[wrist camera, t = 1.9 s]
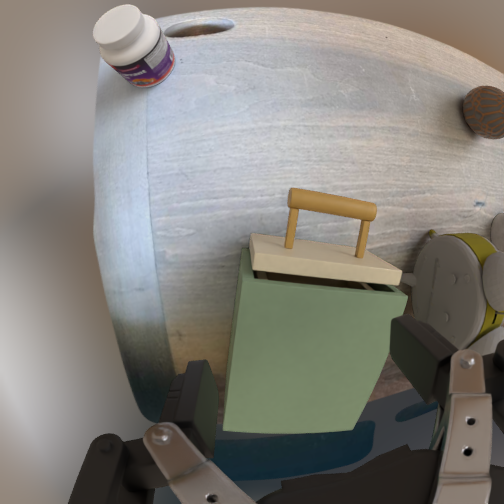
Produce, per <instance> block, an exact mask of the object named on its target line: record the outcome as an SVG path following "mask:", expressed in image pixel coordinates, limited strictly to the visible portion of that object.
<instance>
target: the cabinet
mask: <svg viewBox="0 0 504 504" xmlns="http://www.w3.org/2000/svg"><path fill="white" fill-rule="evenodd" d="M365 283H366V284H367V285H368V286H370V287H371V288H372V289H373V290H374V291H372V290H361V289H350V288H339V287H329V286H319V285H309V284H300V283H290V282H281V281H272V280H264V279H255V278H254V275H253V270H252V263H251V255H250V249H247V248H242V251H241V259H240V267H239V274H238V282H237V290H236V298H235V306H234V313H233V321H232V329H231V338H230V346H229V354H228V362H227V371H226V386H225V401H224V418H223V430H225V431H236V432H252V433H318V432H333V431H344V430H352V429H353V428H354V426H355V424H356V422H357V420H358V418H359V416H360V414H361V413H362V411H363V409H364V407H365V405H366V403H367V401H368V399H369V397H370V395H371V393H372V391H373V388H374V386H375V384H376V382H377V380H378V377H379V375H380V373H381V371H382V368H383V366H384V364H385V361H386V359H387V356H388V354H389V351H390V348H389V347H390V328H391V320H392V319H393V318H395V317H398V316H401V315H403V312H404V309H405V306H406V303H407V300H408V296H407V295H405V294H404V293H403V292H401V291H400V290H398V289H397V288H396V287H394V286H393V285H387V284H377V283H367V282H365Z"/></svg>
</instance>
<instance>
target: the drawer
mask: <svg viewBox="0 0 504 504" xmlns="http://www.w3.org/2000/svg"><path fill="white" fill-rule="evenodd" d="M287 204H288V207H290V211H289V217H288V224H287V230H286V236H285V237H279V236H271V235H264V234H256V233H251V235H250V243H249V247H250V255H251V263H252V270H253V275H254V278H255V279H264V280H272V281H281V282H290V283H300V284H309V285H319V286H329V287H339V288H350V289H361V290H372V291H374V290H373V289H372V288H371V287H370V286H368V285H367V284H366V283H365V282H367V283H377V284H387V285H397V286H398V285H399V283H400V279H401V275H402V271H401V270H400V269H398V268H396V267H395V266H393V265H391V264H389V263H388V262H386V261H384V260H382V259H381V258H379V257H377V256H375V255H374V254H372V253H370V252H368V251H367V250H365V247H366V242H367V237H368V232H369V226H370V221H373V220H374V219H375V217H376V213H377V207H376V205H375V204H374V203H370V202H366V201H361V200H356V199H352V198H347V197H342V196H337V195H331V194H326V193H321V192H315V191H310V190H304V189H298V188H290V190H289V194H288V202H287ZM299 209H303V210H309V211H315V212H321V213H327V214H333V215H339V216H344V217H350V218H355V219H360V220H361V225H360V231H359V236H358V241H357V246H356V247H349V246H343V245H336V244H329V243H322V242H315V241H308V240H301V239H294V237H295V231H296V225H297V218H298V212H299Z"/></svg>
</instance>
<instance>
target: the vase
mask: <svg viewBox="0 0 504 504" xmlns="http://www.w3.org/2000/svg"><path fill="white" fill-rule="evenodd" d="M463 114H464V117H465V120H466V122H467V124H468V125H469V127H470V128H471V129H472V130H473V131H474V132H475V133H476V134H478V135H480V136H482V137H484V138H488V139H500V138H503V137H504V92H503V91H501V90H500V89H498V88H495V87H492V86H479V87H476V88H474V89H472V90H471V91H470V92H469V93H468V94H467V95H466V97H465V99H464V102H463Z"/></svg>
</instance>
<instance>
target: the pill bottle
mask: <svg viewBox="0 0 504 504" xmlns="http://www.w3.org/2000/svg"><path fill="white" fill-rule="evenodd" d="M93 38H94V40H95V41H96V42H97V43H98V44H99V45H100V54H101V56H102V58H103V59H104V60H105V62H106V63H108V64H109V65H110V66H111V67H112V68H114V69H115V70H116V71H117V72H118V73H119V74H121V75H122V76H123V77H124V78H125V79H126V80H127V81H129V82H130V83H131V84H133V85H135V86H137V87H151V86H155V85H157V84H159V83H161V82H162V81H164V80H165V79H166V78H167V77H168V76H169V74H170V73H171V71H172V70H173V67H174V64H175V57H174V54H173V51H172V49H171V47H170V45H169V43H168V41H167V40H166V38H165V36H164V34H163V32H162V30H161V28H160V26H159V25H158V23H157V21H156V20H155V19H154V18H152V17H151V16H149V15H145V14H142V13H141V12H140V11H139V9H138V8H137V7H135V6H133V5H121V6H118V7H115V8H113V9H111V10H109V11H108V12H106V13H105V14H104V15H103V16H102V17H101V18H100V19H99V20H98V21H97V23H96V24H95V26H94V29H93Z"/></svg>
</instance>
